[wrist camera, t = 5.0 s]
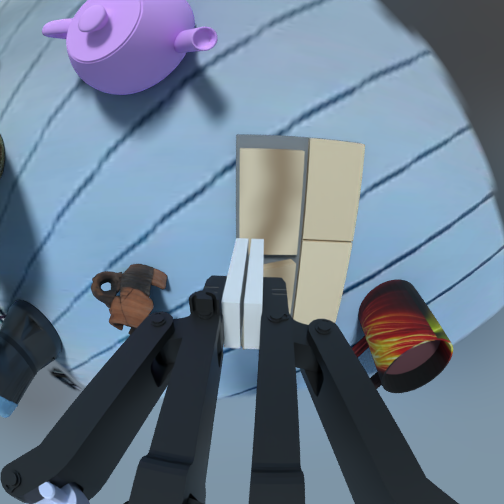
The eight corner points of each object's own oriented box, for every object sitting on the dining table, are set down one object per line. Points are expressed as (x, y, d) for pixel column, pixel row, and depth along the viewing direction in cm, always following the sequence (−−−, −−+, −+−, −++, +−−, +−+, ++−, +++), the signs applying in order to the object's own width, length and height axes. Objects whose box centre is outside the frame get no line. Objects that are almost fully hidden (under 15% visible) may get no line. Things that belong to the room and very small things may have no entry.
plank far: (240, 343, 35) (243, 349, 34) (239, 268, 30) (243, 273, 29) (283, 331, 37) (287, 337, 36) (291, 258, 32) (296, 263, 31)
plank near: (239, 249, 32) (239, 254, 31) (240, 148, 27) (239, 149, 25) (295, 250, 32) (296, 254, 31) (302, 150, 27) (304, 151, 26)
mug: (342, 351, 40) (357, 413, 29) (369, 277, 34) (402, 340, 23) (394, 349, 40) (416, 405, 29) (425, 281, 34) (465, 335, 23)
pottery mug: (190, 280, 36) (175, 339, 32) (165, 296, 43) (153, 345, 38) (107, 241, 31) (83, 302, 26) (98, 266, 37) (79, 315, 33)
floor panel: (238, 329, 39) (236, 339, 37) (237, 134, 27) (235, 135, 25) (327, 331, 38) (330, 341, 36) (358, 142, 27) (365, 144, 25)
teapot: (205, 115, 26) (173, 113, 17) (66, 86, 24) (8, 87, 15) (251, 8, 20) (243, -39, 11) (103, -6, 18) (56, -30, 9)
